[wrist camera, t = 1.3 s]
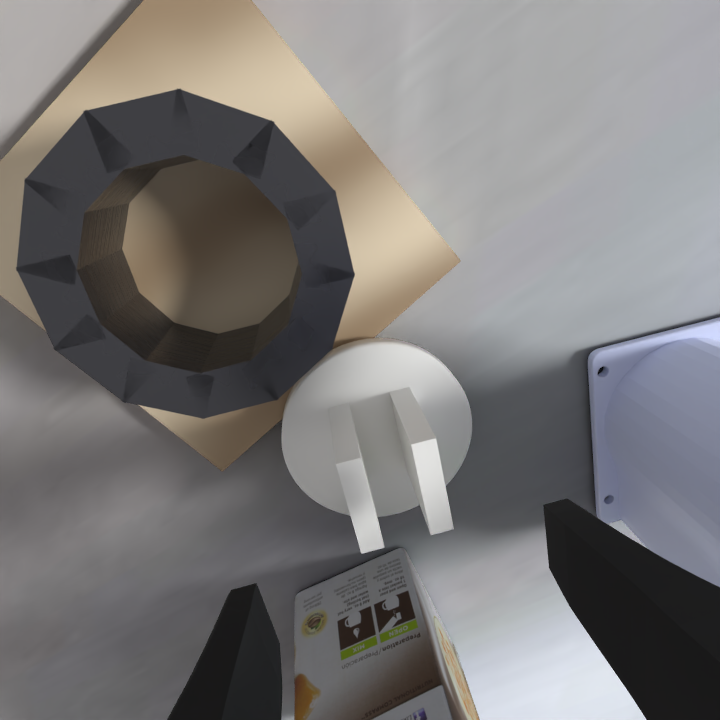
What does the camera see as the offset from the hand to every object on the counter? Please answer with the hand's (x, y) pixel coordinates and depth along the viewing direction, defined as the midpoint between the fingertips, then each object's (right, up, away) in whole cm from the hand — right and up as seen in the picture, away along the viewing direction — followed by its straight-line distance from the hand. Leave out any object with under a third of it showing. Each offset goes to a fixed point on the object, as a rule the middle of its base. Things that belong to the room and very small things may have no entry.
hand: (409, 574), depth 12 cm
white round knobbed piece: (-1, +3, +10) cm, 11 cm away
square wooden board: (-7, +9, +7) cm, 13 cm away
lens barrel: (-7, +9, +7) cm, 13 cm away
